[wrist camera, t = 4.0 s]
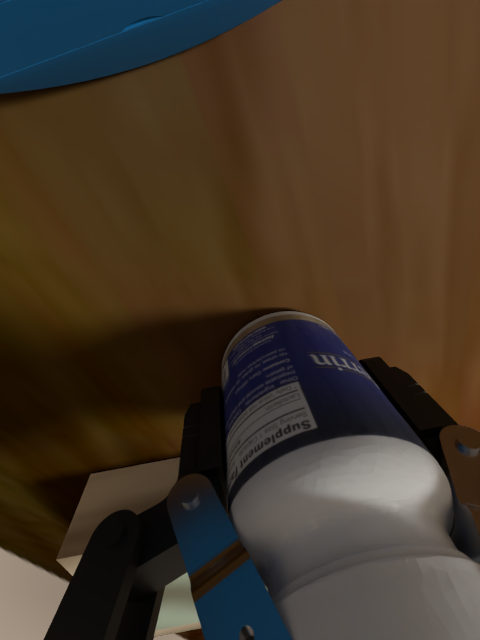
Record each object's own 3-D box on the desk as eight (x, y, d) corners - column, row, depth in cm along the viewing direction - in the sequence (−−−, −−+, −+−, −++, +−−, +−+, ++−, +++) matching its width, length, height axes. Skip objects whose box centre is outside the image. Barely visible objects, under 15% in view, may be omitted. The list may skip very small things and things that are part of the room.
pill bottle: (361, 354, 14) (631, 678, 5) (277, 420, 15) (365, 755, 6) (284, 279, 11) (521, 625, 3) (195, 366, 13) (162, 759, 4)
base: (90, 474, 16) (54, 565, 12) (279, 438, 16) (300, 518, 12) (150, 561, 21) (137, 644, 17) (292, 535, 21) (310, 611, 17)
